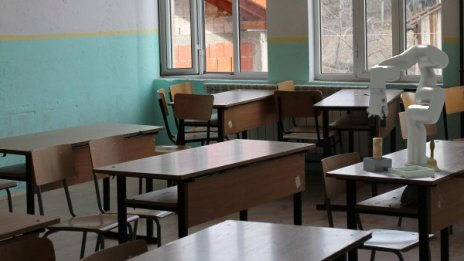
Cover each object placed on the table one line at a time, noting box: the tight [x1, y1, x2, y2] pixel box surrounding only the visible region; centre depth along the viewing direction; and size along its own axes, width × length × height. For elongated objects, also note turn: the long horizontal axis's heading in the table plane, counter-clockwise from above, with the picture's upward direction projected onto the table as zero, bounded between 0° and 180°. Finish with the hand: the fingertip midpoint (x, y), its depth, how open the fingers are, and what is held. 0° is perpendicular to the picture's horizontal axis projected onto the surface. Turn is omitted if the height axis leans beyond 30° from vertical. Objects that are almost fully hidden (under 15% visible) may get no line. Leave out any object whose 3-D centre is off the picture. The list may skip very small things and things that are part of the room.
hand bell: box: [425, 138, 441, 173], centre depth 434 cm, size 8×8×16 cm
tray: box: [387, 165, 436, 179], centre depth 423 cm, size 17×14×3 cm
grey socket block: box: [362, 156, 393, 173], centre depth 431 cm, size 10×10×7 cm
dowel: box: [372, 137, 383, 160], centre depth 430 cm, size 4×4×16 cm
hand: (377, 126), depth 428 cm, fingers open, 9 cm apart
